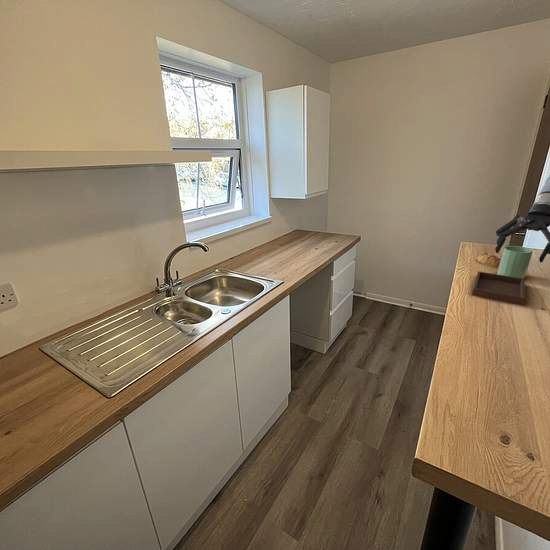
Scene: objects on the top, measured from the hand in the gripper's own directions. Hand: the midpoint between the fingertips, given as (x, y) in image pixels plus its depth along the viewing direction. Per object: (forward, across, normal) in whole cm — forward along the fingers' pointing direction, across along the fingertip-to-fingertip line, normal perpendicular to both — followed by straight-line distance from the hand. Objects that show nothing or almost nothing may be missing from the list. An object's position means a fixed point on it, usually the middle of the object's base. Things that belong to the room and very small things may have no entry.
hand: (517, 255), depth 110 cm
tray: (+18, -2, +7) cm, 20 cm away
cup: (+7, 0, -4) cm, 8 cm away
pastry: (+1, +10, -11) cm, 15 cm away
